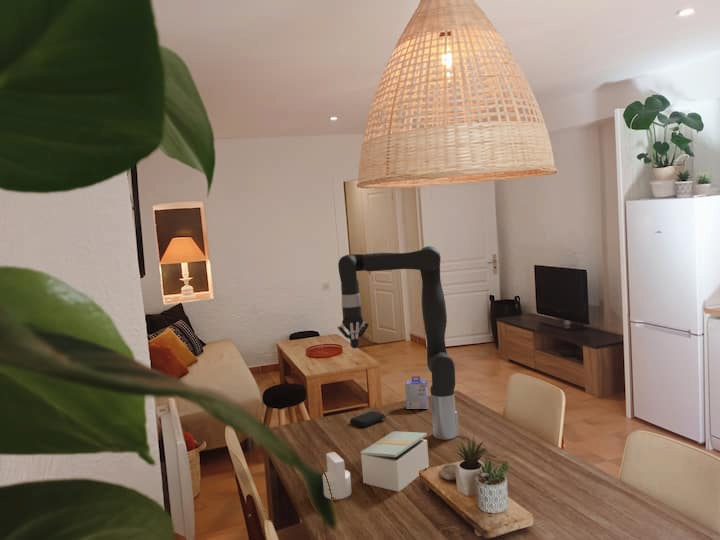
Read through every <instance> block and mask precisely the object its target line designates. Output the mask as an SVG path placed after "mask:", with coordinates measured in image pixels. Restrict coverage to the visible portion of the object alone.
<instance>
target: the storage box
mask: <svg viewBox="0 0 720 540" xmlns="http://www.w3.org/2000/svg"><path fill="white" fill-rule="evenodd" d="M360 457H361V469H362V470H361V471H362V483H363V484H365V483H366V485H369V486H374V487H378V488H382V489H386V490H390V491H394V492H399V493H400V492H401V491H402V490H403V489H405V488H406V487H407V486H408V485H409V484H410V483H412V482H413V481H414V480H416V479H417V478H418V477H419V476H420V475H419V471H420V470H423V469H425V468H428V467H429V468H430V464H429V463H430V462H429V448H428V439H424V438H422V439H421V440H420V441H418V442H417V443H415V444H414V445H413V446H411V447H410V448H408V449H407V450H405V451H404V452H403V453H401V454H400V455H398V456H397V457H387V456H374V455H361V454H360ZM429 468H428V469H429Z"/></svg>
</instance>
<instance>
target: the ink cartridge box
mask: <svg viewBox="0 0 720 540" xmlns="http://www.w3.org/2000/svg"><path fill="white" fill-rule="evenodd" d="M428 390H429V389H428V381H427V380H421V376H420V375H417V376H416V375H414V376H412V377H411V380H407V381H406V382H405V383H404V392H405V406H406V409H427V410H428V409H429V407H430V406H429V405H430V403H429V391H428ZM406 409H405V410H406Z"/></svg>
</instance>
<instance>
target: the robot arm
mask: <svg viewBox="0 0 720 540" xmlns="http://www.w3.org/2000/svg"><path fill="white" fill-rule="evenodd" d="M337 264H338V266H337V267H338V275H339V279H340V284H341V285H340V288H341V289H340V290H341V309H342V322H341V324H340V325H338V326H337V328H336V329H337V330H338V331H339V332H340V333H341V335H343V336H344V337H345V338H346V339H349V342H350V347H351V348H352V349H357V348H358V347H359V338H362V337H363V336H364V334H365V332H366V331H367V329H368V327H369V323H367V322H365V321H364V318H363V316H362V315H363V313H362V299H361V294H360V285H359V280H358V277H357V272H362V271H365V272H381V271H382V272H383V271H393V270H394V271H395V270H415V271H416V270H418V271H420V276H421V277H420V278H421V287H422V288H421V311H422V321H423V325H424V326H423V327H424V333H425V338H426V339H425V340H426V365H427V369H428V370H429V372H431V386H430V398H431V399H430V402H431V416H432V418H431V419H432V433H433V437H434V438H435V439H438V440H451V439H455V438H456V437H459V436H460V431H459V430H460V429H459V415H458V411H457V410H456V400H455V399H456V397H455V387H456V369H455V363H454V360H453V359H452V357H450V356H449V355H448V352H447V347H446V339H445V335H446V329H447V322H448V321H447V320H448V318H447V317H448V316H447V307H446V300H445V295H444V291H443V287H442V281H441V280H442V279H441V254H440V251H439V250H438V249H437V248H436V247H433V246H431V245H430V246H429V245H428V246H424V247H423V248H421V249H420V250H415V251H410V252H397V253H396V252H373V253H365V254H362V253H361V254H360V253H358V254H355V253H354V254H353V253H349V254H346V255H344V256H341V257H340V259H339V261H338V263H337ZM345 329H346V330H347V331H346V330H345ZM347 332H348V333H347Z"/></svg>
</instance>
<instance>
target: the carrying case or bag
mask: <svg viewBox="0 0 720 540" xmlns="http://www.w3.org/2000/svg"><path fill="white" fill-rule="evenodd" d="M386 418H387V416H386V415H385V414H384V413H381V412H378V411H374V410H370V411H367V412H365V413H362V414H359V415H357V416H354V417H351V419H350V420H349V423H350V424H351V425H352V426H354V427H358V428H361V429H366V428H367V427H368V428H369V427H370V426H374V425H375V424H378V423H381V422H383V421H384V420H386Z"/></svg>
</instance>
